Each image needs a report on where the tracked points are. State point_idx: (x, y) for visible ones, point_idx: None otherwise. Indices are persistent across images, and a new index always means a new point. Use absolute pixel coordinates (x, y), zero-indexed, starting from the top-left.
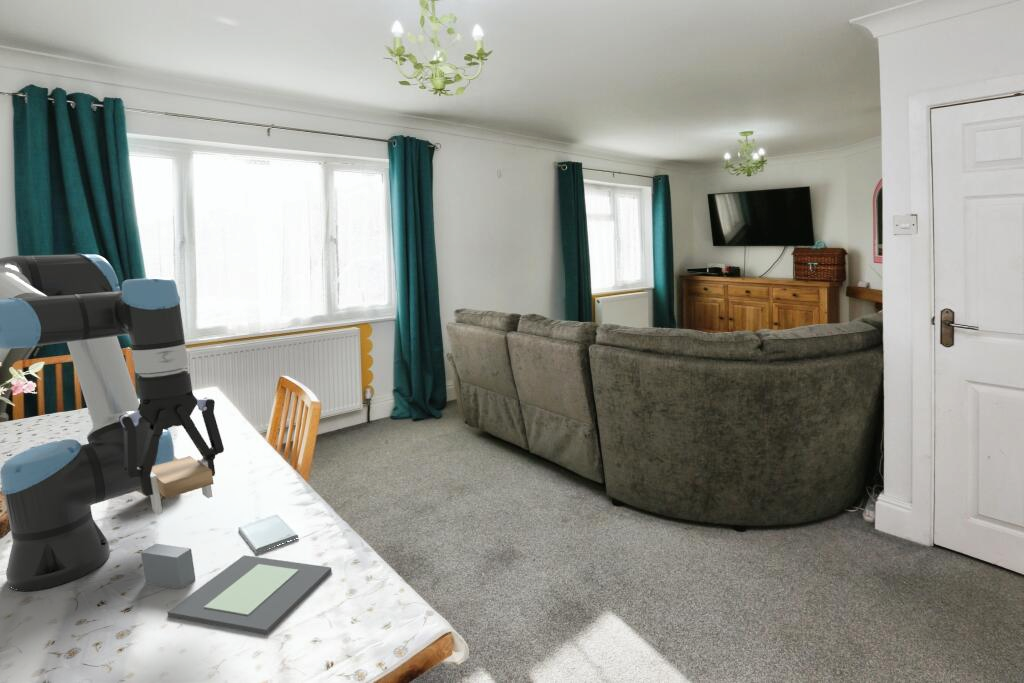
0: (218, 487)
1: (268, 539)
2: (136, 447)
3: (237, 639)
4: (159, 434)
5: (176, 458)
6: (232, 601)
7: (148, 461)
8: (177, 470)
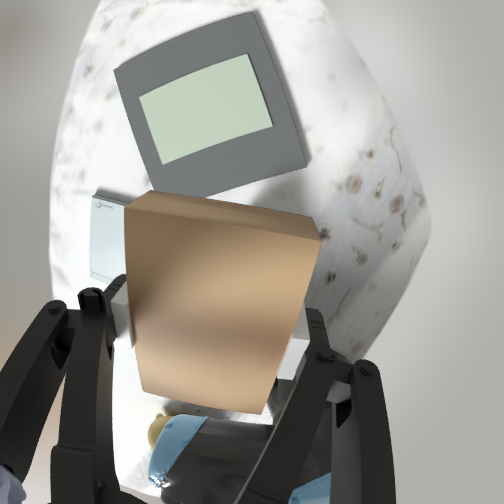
0: (127, 390)
1: (121, 220)
2: (362, 460)
3: (279, 36)
4: (254, 498)
5: (149, 442)
6: (241, 100)
7: (315, 393)
8: (213, 330)
